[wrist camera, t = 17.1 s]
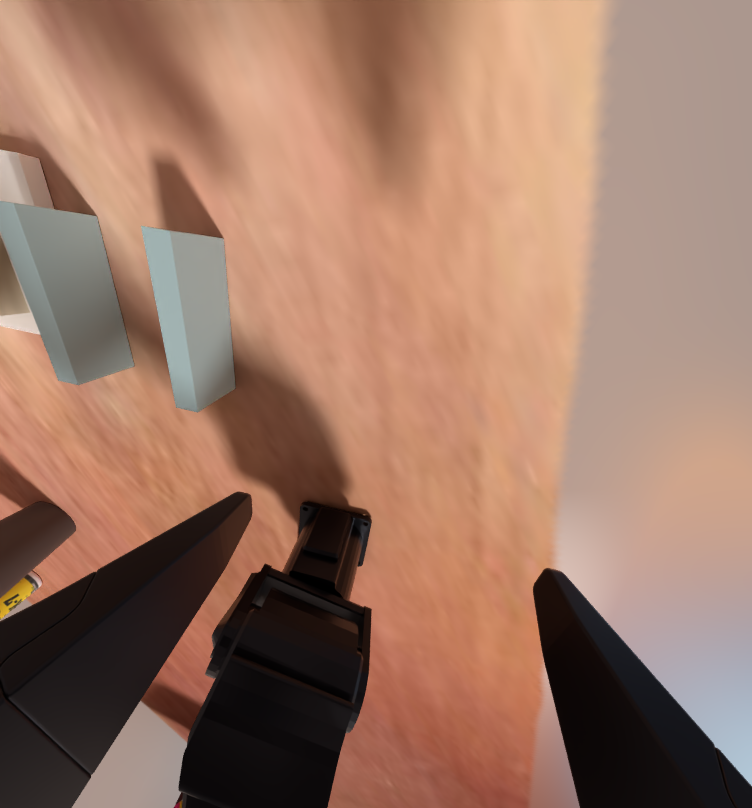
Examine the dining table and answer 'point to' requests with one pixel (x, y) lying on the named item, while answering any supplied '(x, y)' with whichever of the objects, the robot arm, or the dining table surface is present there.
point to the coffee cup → (30, 540)
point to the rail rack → (99, 309)
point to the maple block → (9, 287)
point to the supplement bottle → (19, 593)
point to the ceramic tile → (26, 185)
